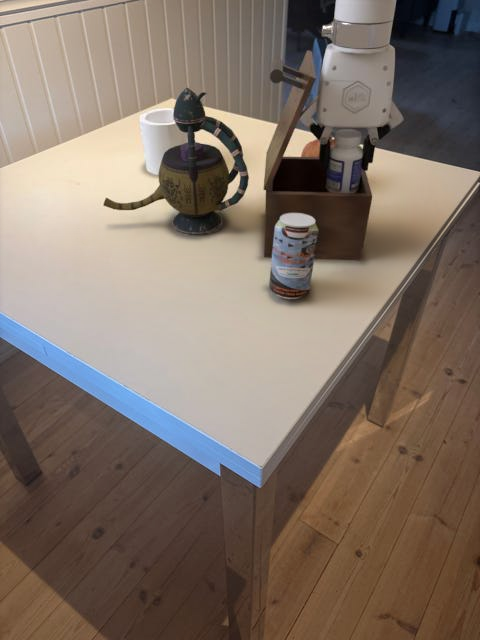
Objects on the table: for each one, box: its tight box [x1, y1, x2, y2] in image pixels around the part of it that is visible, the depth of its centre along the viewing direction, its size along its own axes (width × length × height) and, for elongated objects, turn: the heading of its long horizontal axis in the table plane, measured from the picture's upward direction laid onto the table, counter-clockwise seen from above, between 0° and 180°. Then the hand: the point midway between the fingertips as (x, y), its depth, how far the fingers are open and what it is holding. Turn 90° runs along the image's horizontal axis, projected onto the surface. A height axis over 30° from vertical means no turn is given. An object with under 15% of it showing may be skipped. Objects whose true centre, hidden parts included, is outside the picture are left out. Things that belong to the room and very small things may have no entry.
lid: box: [262, 50, 317, 192], centre depth 72 cm, size 17×14×5 cm
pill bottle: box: [326, 128, 364, 193], centre depth 76 cm, size 5×5×9 cm
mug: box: [138, 107, 188, 176], centre depth 106 cm, size 14×10×11 cm
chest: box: [263, 156, 373, 261], centre depth 81 cm, size 16×14×11 cm
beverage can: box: [268, 213, 318, 300], centre depth 70 cm, size 6×7×12 cm
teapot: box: [103, 87, 250, 237], centre depth 81 cm, size 12×25×23 cm, turn 95°
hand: (344, 165), depth 76 cm, fingers closed on pill bottle, 5 cm apart
